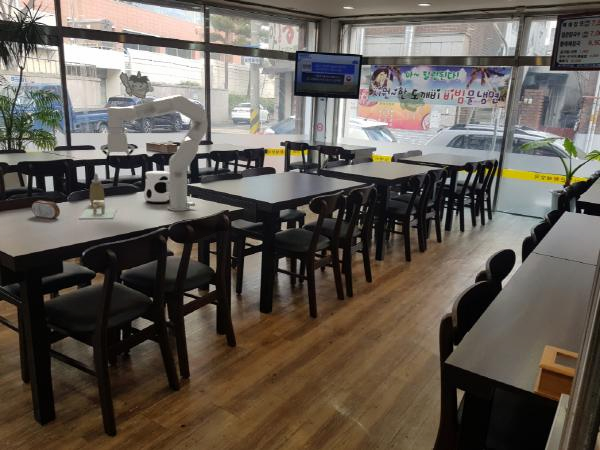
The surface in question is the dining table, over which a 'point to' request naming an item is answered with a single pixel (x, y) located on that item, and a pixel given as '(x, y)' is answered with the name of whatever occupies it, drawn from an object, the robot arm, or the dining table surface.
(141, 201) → the dining table surface
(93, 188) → the squeeze bottle
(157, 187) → the milk container
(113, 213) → the mat
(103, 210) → the stool
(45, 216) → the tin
